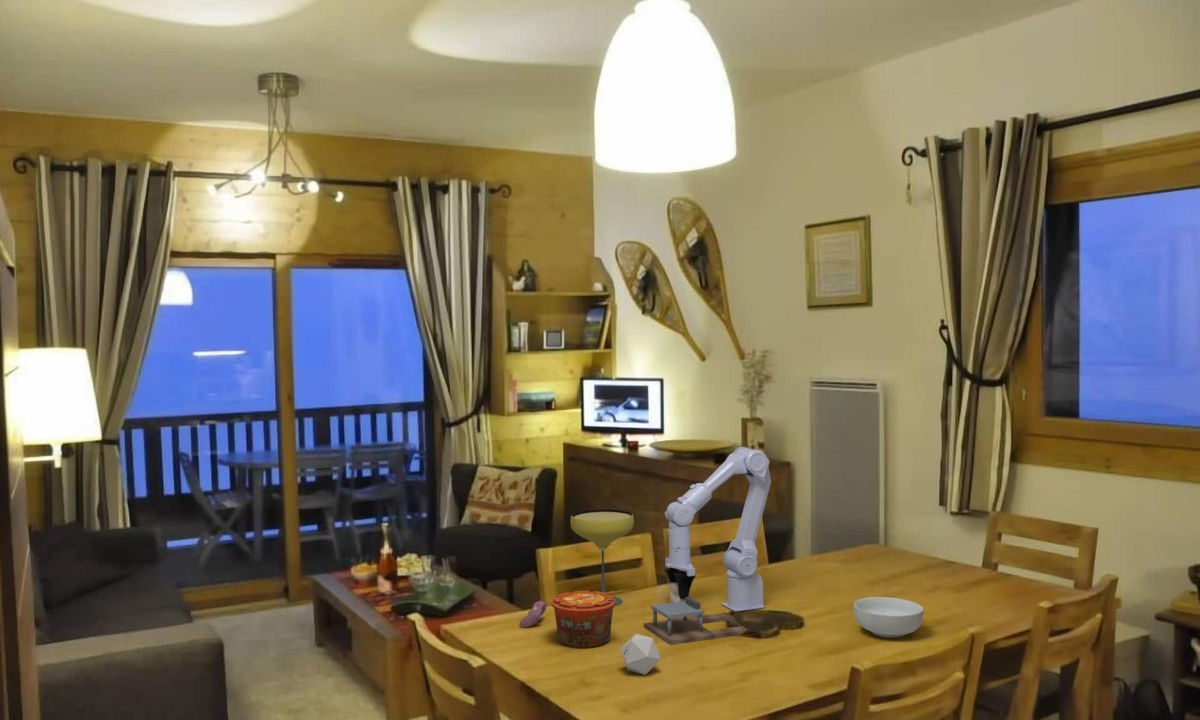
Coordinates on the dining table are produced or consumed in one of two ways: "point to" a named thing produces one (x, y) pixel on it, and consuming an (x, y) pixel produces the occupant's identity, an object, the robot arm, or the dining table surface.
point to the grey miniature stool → (678, 611)
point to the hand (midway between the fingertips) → (680, 596)
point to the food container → (583, 618)
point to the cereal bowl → (888, 616)
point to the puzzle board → (694, 629)
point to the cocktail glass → (602, 529)
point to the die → (640, 654)
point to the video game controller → (534, 614)
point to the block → (675, 593)
